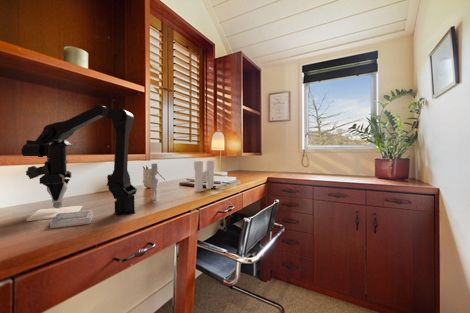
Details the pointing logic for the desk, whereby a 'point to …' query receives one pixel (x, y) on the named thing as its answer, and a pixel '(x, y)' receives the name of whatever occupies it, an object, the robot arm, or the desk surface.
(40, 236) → the desk surface
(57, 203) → the lightbulb
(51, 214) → the mat
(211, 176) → the binoculars
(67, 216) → the grey flat square frame
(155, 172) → the human figurine
